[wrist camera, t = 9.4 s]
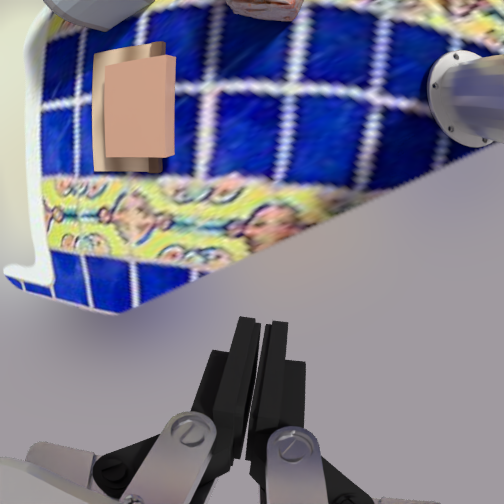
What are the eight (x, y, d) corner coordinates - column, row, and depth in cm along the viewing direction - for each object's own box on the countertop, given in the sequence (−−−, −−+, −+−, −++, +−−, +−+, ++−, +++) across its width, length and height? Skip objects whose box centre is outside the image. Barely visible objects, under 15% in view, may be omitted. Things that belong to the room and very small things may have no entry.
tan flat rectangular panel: (155, 44, 31) (153, 43, 31) (152, 170, 39) (150, 171, 38) (96, 54, 32) (94, 53, 32) (96, 170, 40) (94, 171, 39)
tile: (166, 54, 28) (105, 66, 30) (165, 157, 34) (105, 157, 35) (177, 57, 30) (117, 67, 32) (175, 154, 36) (117, 154, 38)
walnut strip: (165, 42, 31) (161, 41, 30) (162, 171, 39) (158, 173, 38) (155, 44, 31) (151, 42, 30) (152, 170, 39) (148, 172, 38)
